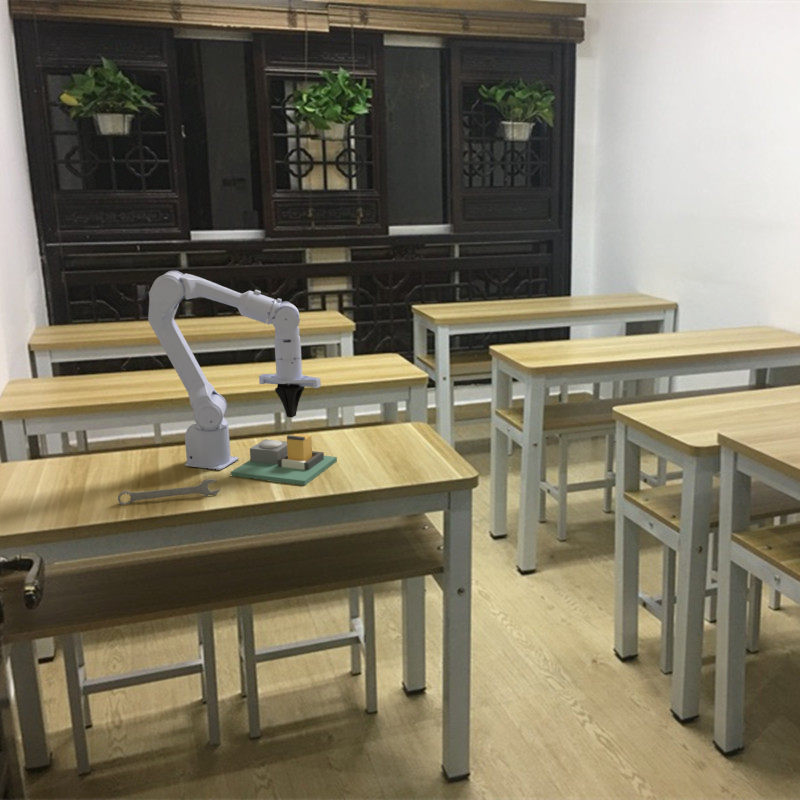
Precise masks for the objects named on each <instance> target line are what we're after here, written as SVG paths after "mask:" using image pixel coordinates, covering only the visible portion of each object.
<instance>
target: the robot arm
mask: <svg viewBox="0 0 800 800" xmlns="http://www.w3.org/2000/svg"><path fill="white" fill-rule="evenodd" d="M148 297H149V298H148V300H149V301H148V317H147V321H148V324H149V326H150V327H151V329H152V331H153V332H154V334H155V336H156V338H157V339H158V341H159V343H160V345H161V347H162V348H163V350H164V352H165V354H166V356H167V357H168V360H169V361H170V362H171V365H172V366H173V368H174V370H175V372H176V373H177V376H178V377H179V379H180V381H181V383H182V384H183V386H184V388H185V390H186V391H187V394H188V399H189V400H188V401H189V404H190V406H191V407H192V410H193V419H194V421H195V423H194V424H191V425H189V426H187V427H188V428H187V429H186V431H185V434H184V443H185V444H184V445H185V456H186V463H184V466H185V467H191V468H200V469H207V468H208V470H215V469H216V471H221V470H223V469H225V468H226V467H228V466H230V465H231V464H234V463H235V462H236V461H238V460H239V457H238V456H231V445H230V444H231V443H230V432H229V422H228V421H227V420H226V418H225V417H224V415H225V414H226V412H227V410H228V404H227V400H226V399H225V397H224V396H222V395H221V393H219V392H218V391H217V390H216V389H215V387H214V385H212V384H211V382H209V381H208V379H207V377H206V375H205V373H204V371H203V369H202V368H201V366H200V364H199V362H198V361H197V359H196V357H195V355H194V353H193V351H192V350H191V347H190V346H189V344H188V342H187V340H186V339H185V336H184V335H183V332H182V331H181V329H180V327H179V326H178V324H177V322H176V320H175V315H176V314H177V311H178V308H179V304H180V303H181V302H182V300H183V299H184V298H185V300H190V299H191V300H192V299H196V298H205V299H207V300H211V301H214V302H218V303H220V304H225V305H228V306H231V307H234V308H236V309H238V312H239V314H240V315H241V316H242V317H246V318H247V319H251V320H255V321H256V322H260V323H262V324H266V325H272V326H273V328H274V333H275V337H274V340H273V341H274V352H275V353H274V355H275V371H276V372H275V373H262V374H260V375H259V376H258V378H259V379H258V380H259V384H260V385H265V384H267V385H268V384H269V385H277V386H276V387H275V389H274V391H275V393H276V394H277V397H278V398H279V399H280V401H281V403H282V405H283V409H284V412H285V414H286V418H294V417H296V416H297V412H298V406H299V402H300V399H301V397H302V395H303V392H304V390H305V388H313V389H318V388H321V386H322V383H321V378H320V377H313V376H309V375H304V374H303V365H302V363H303V362H302V345H301V344H302V343H301V336H300V332H301V331H300V330H301V329H300V328H299V325H300V321H301V317H300V311H299V309H298V308H297V307H296V306H295V305H294V304H293V303H291V302H289V301H282V298H277V299H275V298H273V297H269V296H267V295H264V294H262V292H261V290H258V289H255V290H254V291H252V290H248V291H246V292H243V293H241V292H238V291H235V290H233V289H230V288H228V287H225V286H222V285H220V284H219V283H216V282H213V281H211V280H207V279H205V278H203V277H200V276H197V275H194V274H190V273H183V272H180V271H179V270H169V271H167V272H165V273H164V274H163V275H160V276H158V277H157V278H156V279H155V280H154V281H153V284H152V286H151V288H150V290H149V291H148Z"/></svg>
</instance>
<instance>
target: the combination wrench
mask: <svg viewBox="0 0 800 800" xmlns="http://www.w3.org/2000/svg"><path fill="white" fill-rule="evenodd" d="M215 482H217V479H212V478H208V479H206V478H205V479H204V480H203V481H201V483H200V484H198V485H194V486H186V487H184V486H183V487H176V488H175V487H174V488H165V489H155V490H146V491H145V490H144V491H134V492H133V491H128V490H123V491H121V492H120V493H119V494H118V496H117V501H118V503H119V504H120V505H123V506H124V505H130V504H131V503H133V502H137V501H142V500H148V499H149V500H150V499H159V498H165V497H176V496H182V495H192V494H199V495H203V496H205V497H209V496H208V495H214V496H216V495H217V494H218V493H219V492H220V491H221V488H219V489H218V488H217V489H215V490H211V489H210V488H209V485H210V484H213V483H215ZM126 494H127V495H129V496H130V499H129V501H128V502H127V501H126V502H124V501H122V500H121V496H123V495H126Z"/></svg>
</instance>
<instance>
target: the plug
mask: <svg viewBox="0 0 800 800" xmlns="http://www.w3.org/2000/svg"><path fill="white" fill-rule="evenodd" d="M312 441H313V440H312V435H311V434H300V433H299V434H298V433H294V434H293V435H290V434H288V435H287V436H286V442H287V452H288V459H291V460H300V461H307V460H309V459H310V458H312V451H313V448H312V447H313V444H312Z"/></svg>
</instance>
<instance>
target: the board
mask: <svg viewBox="0 0 800 800" xmlns="http://www.w3.org/2000/svg"><path fill="white" fill-rule="evenodd" d="M249 455H250V456H249V457H250V459H249V460H247V461H246V462H245V463H242V464H241V465H239V466H238V467H236V468H234V469H232V471H230V476H231V475H232V476H231V477H234V476H238V477H237V478H242V477H244V478H243V479H250V478H254V479H253V480H258V479H262V480H261V481H266V480H269V482H274V481H275V482H276V483H283V484H291V485H298V486H306V485H308V484H309V483H310V482H311V481H313V480H314V479H316V476H317V477H319V475H321V474H323V472H324V471H326V470H327V469H329V468H330V467H332V466H333V465H334V464H336V463H337V461H338V456H333V455H332V456H329V455H325V454H324V452H323V451H316V450H315V451H314V450H312V458H310V459H309V460H307V461H300V460H291V459H288V452H287V440H286V441H284V440H275V439H263V440H261V441H260V442H259V443H257V444H255V445H253V446H252V447H250V448H249ZM275 482H274V483H275Z"/></svg>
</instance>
